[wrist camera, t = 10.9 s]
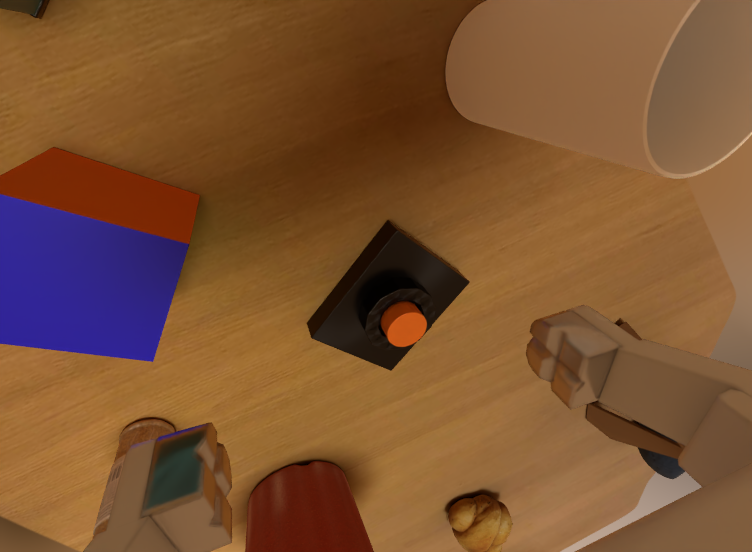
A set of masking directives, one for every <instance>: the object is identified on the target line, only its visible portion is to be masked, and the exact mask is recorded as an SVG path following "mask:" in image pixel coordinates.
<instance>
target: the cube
mask: <svg viewBox="0 0 752 552" xmlns="http://www.w3.org/2000/svg"><path fill="white" fill-rule="evenodd" d="M199 197H200V195H198V194H195V193H192V192H188V191H185V190H182V189H179V188H176V187H173V186H170V185H167V184H164V183H161V182H158V181H155V180H152V179H149V178H146V177H143V176H140V175H137V174H134V173H131V172H128V171H125V170H122V169H119V168H116V167H113V166H110V165H106V164H103V163H100V162H97V161H94V160H91V159H88V158H85V157H82V156H79V155H76V154H73V153H70V152H67V151H64V150H61V149H58V148H55V147H53V148H51V149H49V150H47V151H45V152H44V153H42V154H40V155H38V156H36V157H34V158H32V159H30V160H29V161H27V162H25V163H23V164H21V165H19V166H17V167H16V168H14V169H12V170H10V171H8V172H6V173H4V174H2V175H1V176H0V344H8V345H17V346H25V347H34V348H42V349H51V350H59V351H68V352H76V353H84V354H93V355H101V356H110V357H118V358H127V359H135V360H144V361H152V362H153V360H154V357H155V353H156V350H157V347H158V344H159V340H160V337H161V334H162V331H163V328H164V324H165V321H166V318H167V315H168V311H169V308H170V305H171V302H172V298H173V295H174V292H175V289H176V285H177V282H178V279H179V276H180V272H181V269H182V266H183V263H184V260H185V256H186V253H187V250H188V247H189V243H190V238H191V234H192V229H193V225H194V220H195V216H196V211H197V206H198V202H199Z"/></svg>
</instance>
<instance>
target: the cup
mask: <svg viewBox="0 0 752 552" xmlns="http://www.w3.org/2000/svg"><path fill="white" fill-rule="evenodd" d="M445 76H446V85H447V90H448V94H449V97H450V99H451V101H452V103H453V105H454V107H455V108H456V110H457V111H458V112H459V113H460V114H461V115H462V116H463V117H465V118H466V119H468V120H470V121H472V122H475V123H478V124H482V125H485V126H488V127H492V128H495V129H499V130H502V131H506V132H509V133H513V134H516V135H519V136H523V137H526V138H530V139H533V140H537V141H540V142H544V143H547V144H551V145H554V146H557V147H561V148H564V149H568V150H571V151H575V152H578V153H582V154H585V155H588V156H592V157H595V158H599V159H602V160H606V161H609V162H613V163H616V164H620V165H623V166H627V167H630V168H634V169H637V170H641V171H644V172H647V173H651V174H654V175H658V176H662V177H668V178H675V179H681V178H688V177H692V176H695V175H698V174H700V173H702V172H704V171H707V170H708V169H710V168H712V167H714V166H716V165H717V164H719V163H720V162H721V161H723V160H724V159H726V158H727V157H728V156H730V155H731V154H732V153H733V152H734V151H736V150H737V149H738V148H739V147H740V146H741V145H742V144H743V143H744V142H745V141H746V140H747V139H748V138H749V137H750V136H751V135H752V0H486V1H484V2H482V3H481V4H479V5H478V6H476V7H475V8H474V9H473V10H472V11H471V12H470V13H469V14H468V15H467V16H466V17H465V18H464V19H463V21H462V22H461V24H460V25H459V27H458V28H457V30H456V32H455V34H454V36H453V38H452V41H451V44H450V47H449V50H448V54H447V60H446V69H445Z"/></svg>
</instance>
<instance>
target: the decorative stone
mask: <svg viewBox="0 0 752 552" xmlns="http://www.w3.org/2000/svg"><path fill="white" fill-rule="evenodd" d="M639 425H640V426H642V427H644V428H646V429H648V430H650V431H652V432H655V433H657V434H659V435H661V436H663V437H665V438H667V439H670V440H672V441H674V442H676V443H677V441H675V440H673V439H671V438H669V437H667V436H665V435H663V434H661V433H659V432H657V431H655V430H653V429H651V428H649V427H647V426H645V425H643V424H641V423H640V424H639ZM638 449H639V452H640V454H641V456H642V457H643V459H644V460H645V462H646V463H647V464H648V465H649V466H650V467H651V468H652V469H653V470H654V471H656V472H657V473H659V474H660V475H662V476H664V477H667V478H670V479H674V478H677V477H678V476H679V475H681V474H683V473H684V472H685V470H683V469H682V468H681V467H680V466H679V464H678V459H676V458H672V457H669V456H666V455H662V454H659V453H656V452H653V451H649V450H646V449H643V448H639V447H638Z"/></svg>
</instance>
